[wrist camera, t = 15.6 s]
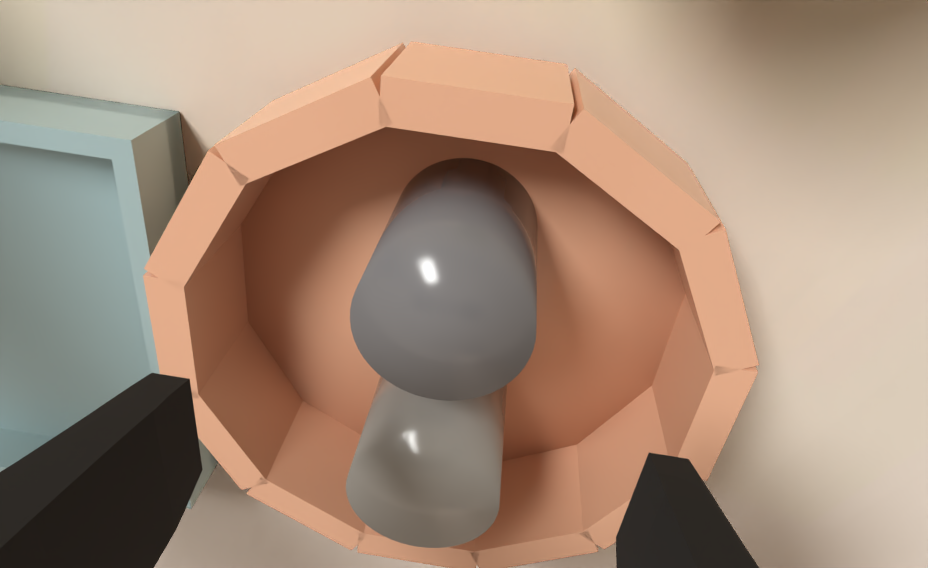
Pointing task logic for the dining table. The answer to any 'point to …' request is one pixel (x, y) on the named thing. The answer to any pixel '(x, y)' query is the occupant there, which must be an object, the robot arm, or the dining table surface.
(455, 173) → the charcoal pebble
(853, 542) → the dining table surface
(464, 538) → the slate pebble
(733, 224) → the dining table surface
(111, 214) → the parts tray
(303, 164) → the terracotta bowl
